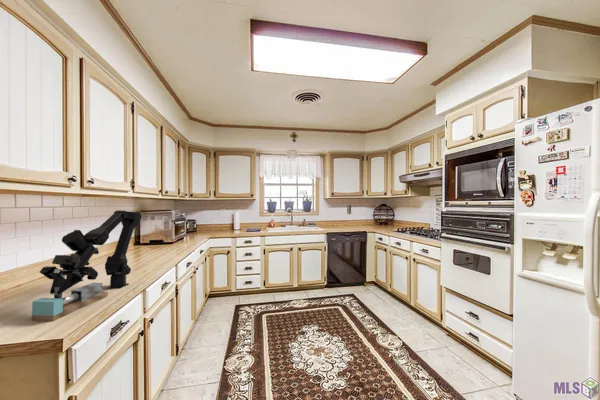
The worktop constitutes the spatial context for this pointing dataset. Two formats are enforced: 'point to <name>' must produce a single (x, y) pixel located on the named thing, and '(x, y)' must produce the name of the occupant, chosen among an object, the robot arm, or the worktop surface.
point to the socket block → (47, 306)
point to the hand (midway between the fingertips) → (54, 293)
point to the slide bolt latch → (78, 301)
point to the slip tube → (67, 298)
